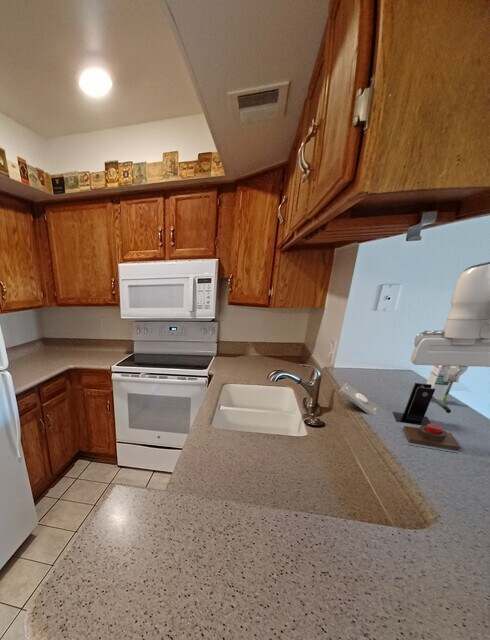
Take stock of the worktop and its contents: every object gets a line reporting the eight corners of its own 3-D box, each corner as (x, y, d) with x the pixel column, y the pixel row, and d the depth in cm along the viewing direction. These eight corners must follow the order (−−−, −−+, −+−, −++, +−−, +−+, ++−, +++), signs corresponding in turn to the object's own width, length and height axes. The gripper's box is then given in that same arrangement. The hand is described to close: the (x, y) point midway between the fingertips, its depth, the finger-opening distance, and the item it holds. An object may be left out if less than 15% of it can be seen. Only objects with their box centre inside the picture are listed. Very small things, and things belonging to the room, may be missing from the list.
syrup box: (425, 403, 124) (441, 366, 117) (420, 397, 129) (434, 361, 122) (443, 405, 122) (460, 367, 115) (437, 399, 127) (453, 362, 120)
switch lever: (442, 409, 107) (449, 404, 105) (446, 415, 103) (454, 409, 101) (414, 388, 108) (420, 383, 106) (417, 394, 104) (424, 388, 102)
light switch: (378, 414, 111) (343, 387, 115) (364, 425, 115) (330, 399, 119) (382, 406, 117) (348, 380, 121) (369, 417, 121) (336, 392, 125)
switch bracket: (425, 419, 111) (440, 384, 105) (431, 429, 105) (447, 392, 99) (391, 414, 115) (404, 380, 109) (395, 424, 109) (408, 387, 102)
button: (438, 430, 97) (440, 424, 96) (441, 435, 94) (444, 430, 93) (423, 427, 98) (426, 422, 98) (426, 433, 96) (429, 427, 95)
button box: (448, 439, 100) (453, 427, 98) (457, 453, 92) (463, 441, 90) (401, 432, 104) (406, 420, 102) (407, 445, 97) (412, 433, 95)
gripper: (419, 332, 88) (407, 382, 94) (521, 331, 80) (502, 386, 85) (414, 329, 94) (403, 377, 99) (510, 328, 85) (492, 380, 91)
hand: (450, 381), depth 92 cm, fingers closed
